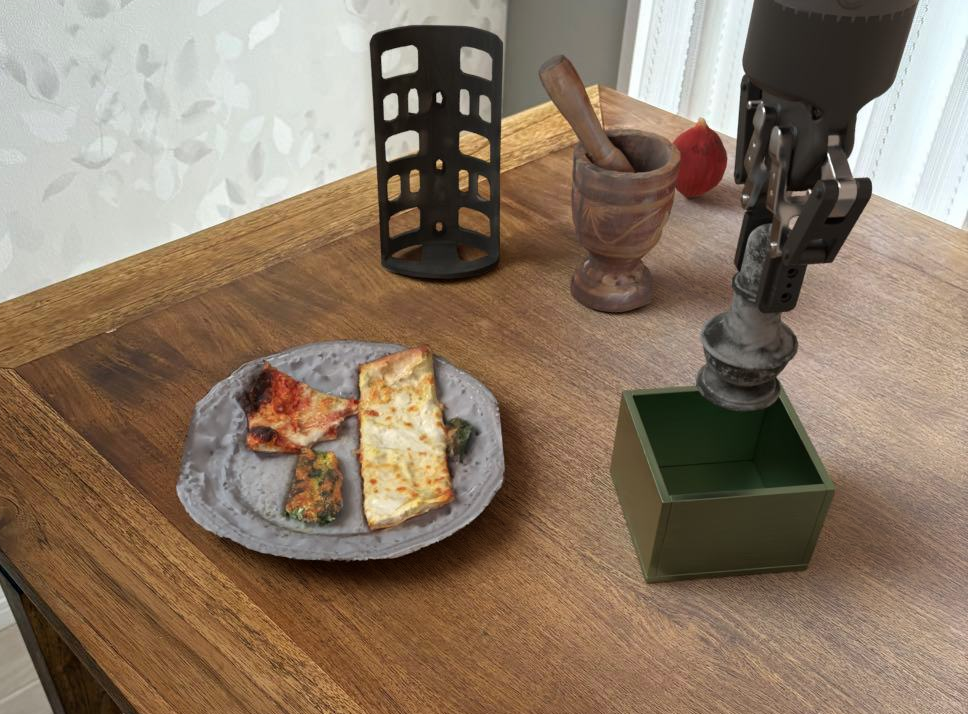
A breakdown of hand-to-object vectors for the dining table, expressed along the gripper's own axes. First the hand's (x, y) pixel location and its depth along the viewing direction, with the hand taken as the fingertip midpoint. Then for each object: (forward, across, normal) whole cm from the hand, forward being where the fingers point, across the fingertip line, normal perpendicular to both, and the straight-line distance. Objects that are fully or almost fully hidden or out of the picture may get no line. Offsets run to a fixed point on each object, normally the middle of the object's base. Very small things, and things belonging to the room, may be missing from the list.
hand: (762, 287), depth 65 cm
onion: (+19, +44, -11) cm, 49 cm away
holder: (+19, +36, +15) cm, 43 cm away
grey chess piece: (+7, 0, 0) cm, 7 cm away
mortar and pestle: (+19, +29, +2) cm, 35 cm away
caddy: (+19, 0, 0) cm, 19 cm away
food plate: (+19, +9, +25) cm, 33 cm away
